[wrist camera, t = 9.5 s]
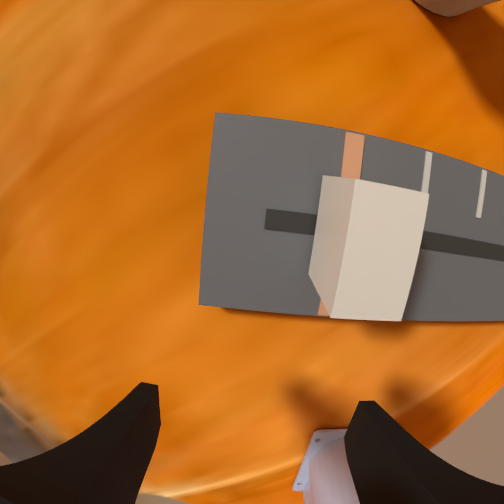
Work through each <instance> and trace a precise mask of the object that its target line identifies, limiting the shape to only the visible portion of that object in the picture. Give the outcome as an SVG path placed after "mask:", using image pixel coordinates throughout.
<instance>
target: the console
mask: <svg viewBox="0 0 504 504" xmlns="http://www.w3.org/2000/svg"><path fill="white" fill-rule="evenodd" d="M323 175H325V176H335V177H345V178H353V179H360V180H365V181H370V182H376V183H381V184H386V185H391V186H396V187H401V188H405V189H410V190H415V191H419V192H423V193H428V194H429V200H428V206H427V213H426V218H425V224H424V229H423V235H422V240H421V245H420V249H419V254H418V259H417V263H416V267H415V271H414V276H413V280H412V284H411V287H410V291H409V295H408V299H407V302H406V306H405V309H404V313H403V316H402V319H401V320H407V321H504V176H502V175H500V174H497V173H495V172H492V171H489V170H487V169H484V168H481V167H479V166H476V165H473V164H470V163H467V162H464V161H461V160H458V159H455V158H452V157H449V156H446V155H443V154H440V153H436V152H433V151H430V150H426V149H423V148H419V147H416V146H412V145H408V144H405V143H401V142H397V141H393V140H389V139H385V138H381V137H376V136H372V135H367V134H363V133H358V132H353V131H349V130H344V129H338V128H333V127H328V126H322V125H316V124H310V123H304V122H297V121H290V120H283V119H275V118H267V117H258V116H249V115H238V114H226V113H215V121H214V129H213V138H212V147H211V156H210V166H209V175H208V186H207V196H206V208H205V219H204V232H203V245H202V259H201V275H200V292H199V305H206V306H215V307H224V308H233V309H242V310H252V311H263V312H273V313H285V314H297V315H310V316H324V317H330V316H329V314H328V312H327V310H326V308H325V306H324V304H323V302H322V300H321V298H320V296H319V294H318V292H317V290H316V288H315V286H314V284H313V282H312V280H311V278H310V276H309V274H308V273H309V267H310V261H311V254H312V248H313V242H314V235H315V229H316V222H317V215H318V208H319V201H320V193H321V186H322V178H323Z"/></svg>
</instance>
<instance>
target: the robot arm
mask: <svg viewBox="0 0 504 504" xmlns="http://www.w3.org/2000/svg"><path fill="white" fill-rule="evenodd" d="M160 426H161V420H160V407H159V392H158V385H154V384H149V383H144V382H141V383H140V384H138V385H137V386H136V387H135V388H134V389H133V390H132V391H131V392H130V393H129V394H128V395H127V396H126V397H125V398H124V399H123V400H122V401H120V402H119V403H118V404H117V405H116V406H115V407H114V408H113V409H111V410H110V411H109V412H108V413H107V414H106V415H104V416H103V417H102V418H101V419H99V420H98V421H97V422H95V423H94V424H93V425H91V426H90V427H89V428H87V429H86V430H84V431H83V432H81V433H80V434H78V435H77V436H75V437H74V438H72V439H70V440H69V441H67V442H65V443H63V444H61V445H59V446H57V447H55V448H53V449H51V450H49V451H47V452H45V453H43V454H40V455H37V456H35V457H32V458H29V459H26V460H23V461H20V462H17V463H13V464H9V465H5V466H0V504H135V501H136V498H137V495H138V492H139V489H140V487H141V484H142V481H143V479H144V476H145V473H146V471H147V468H148V465H149V463H150V460H151V457H152V455H153V452H154V449H155V447H156V443H157V438H158V434H159V430H160ZM318 438H319V439H318ZM292 488H293V490H294V491H303V498H304V504H504V486H500V485H496V484H493V483H490V482H487V481H484V480H481V479H479V478H476V477H474V476H472V475H469V474H467V473H465V472H463V471H461V470H459V469H457V468H455V467H454V466H452V465H450V464H449V463H447V462H446V461H444V460H442V459H441V458H439V457H438V456H436V455H435V454H433V453H432V452H431V451H429V450H428V449H427V448H426V447H424V446H423V445H422V444H421V443H419V442H418V441H417V440H416V439H415V438H413V437H412V436H411V435H410V434H409V433H408V432H407V431H406V430H404V429H403V428H402V427H401V426H400V425H399V424H398V423H397V422H396V421H395V420H394V419H393V418H392V417H391V416H390V415H389V414H388V413H387V412H386V411H385V410H384V409H382V408H381V407H380V406H379V405H378V404H377V403H376V402H375V401H359V403H358V405H357V408H356V410H355V413H354V415H353V417H352V420H351V422H350V424H349V427H348V429H322V430H316V431H315V432H314V433H313V435H312V437H311V440H310V443H309V446H308V448H307V451H306V454H305V456H304V459H303V461H302V464H301V466H300V469H299V471H298V474H297V476H296V479H295V481H294V484H293V486H292Z"/></svg>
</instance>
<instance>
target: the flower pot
mask: <svg viewBox="0 0 504 504" xmlns="http://www.w3.org/2000/svg"><path fill="white" fill-rule="evenodd" d="M414 1H416V2H417V3H418V4H420V5H421V6H423V7H424V8H426V9H427V10H429V11H431V12H433V13H436V14H439V15H442V16H447V17H450V16H457V15H460V14H462V13H465V12H467V11H470V10H473V9H475V8H478V7H481V6H484V5H487V4H490V3H493V2H497V1H500V0H414Z"/></svg>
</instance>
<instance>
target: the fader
mask: <svg viewBox="0 0 504 504" xmlns="http://www.w3.org/2000/svg"><path fill="white" fill-rule="evenodd" d="M428 200H429V194H428V193H423V192H419V191H415V190H410V189H405V188H401V187H396V186H391V185H386V184H381V183H376V182H370V181H365V180H360V179H353V178H345V177H335V176H325V175H323V178H322V186H321V193H320V201H319V208H318V215H317V222H316V229H315V235H314V242H313V248H312V254H311V261H310V267H309V273H308V274H309V276H310V278H311V280H312V282H313V284H314V286H315V288H316V290H317V292H318V294H319V296H320V298H321V300H322V302H323V304H324V306H325V308H326V310H327V312H328V314H329V316H330V318H339V319H357V320H378V321H401V319H402V316H403V313H404V309H405V306H406V302H407V299H408V295H409V291H410V287H411V284H412V280H413V276H414V271H415V267H416V263H417V259H418V254H419V249H420V245H421V240H422V235H423V229H424V224H425V218H426V213H427V206H428Z"/></svg>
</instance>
